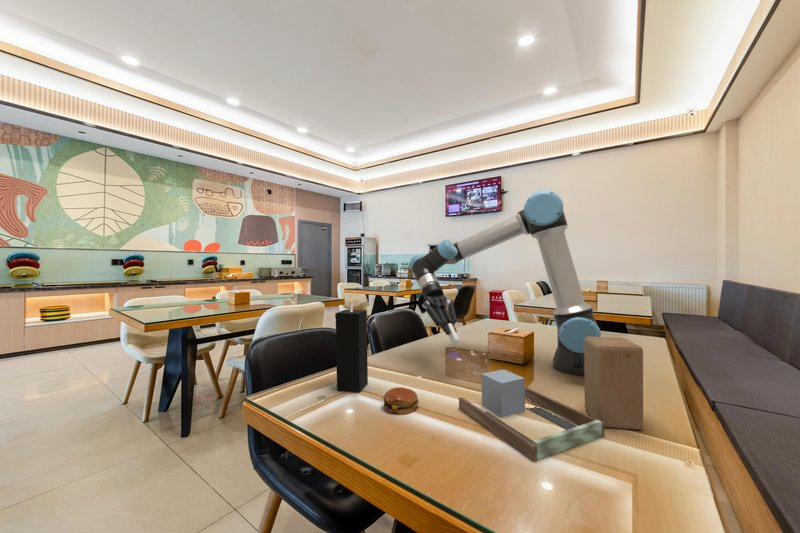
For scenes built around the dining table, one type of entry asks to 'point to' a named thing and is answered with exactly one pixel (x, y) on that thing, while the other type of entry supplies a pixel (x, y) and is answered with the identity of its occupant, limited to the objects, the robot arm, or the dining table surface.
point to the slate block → (503, 392)
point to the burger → (400, 400)
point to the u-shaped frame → (546, 445)
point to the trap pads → (546, 415)
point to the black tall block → (351, 349)
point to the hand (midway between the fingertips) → (455, 341)
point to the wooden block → (614, 381)
